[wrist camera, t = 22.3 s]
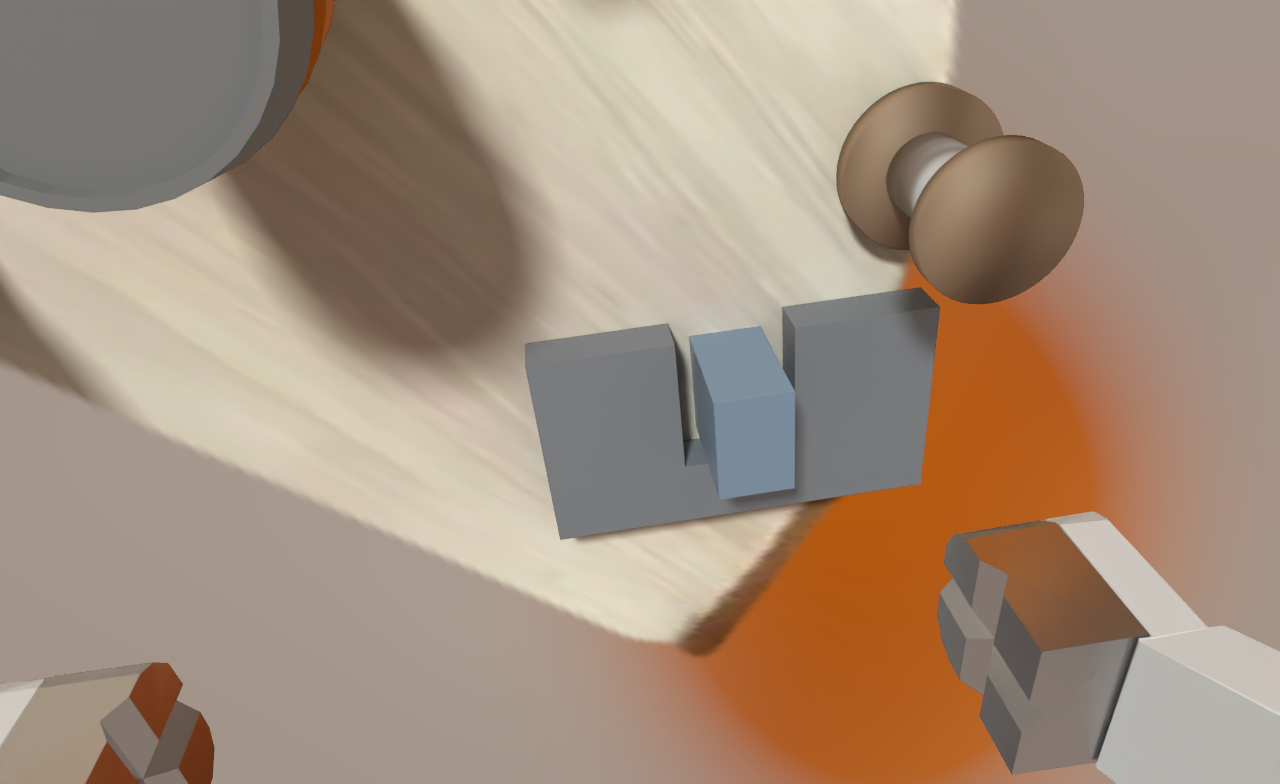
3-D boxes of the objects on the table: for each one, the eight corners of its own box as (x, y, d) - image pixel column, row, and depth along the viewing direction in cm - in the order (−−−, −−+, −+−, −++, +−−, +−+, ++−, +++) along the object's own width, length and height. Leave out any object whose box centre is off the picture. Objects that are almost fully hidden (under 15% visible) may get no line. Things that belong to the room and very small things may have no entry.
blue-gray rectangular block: (695, 424, 48) (719, 499, 42) (689, 336, 45) (713, 403, 39) (761, 414, 48) (794, 488, 42) (760, 326, 45) (795, 391, 39)
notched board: (559, 512, 50) (560, 539, 48) (525, 343, 44) (525, 366, 42) (903, 459, 51) (920, 484, 49) (920, 287, 45) (939, 306, 43)
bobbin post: (834, 249, 43) (899, 326, 35) (838, 93, 39) (914, 142, 31) (979, 228, 43) (1075, 300, 36) (1000, 72, 39) (1114, 115, 32)
